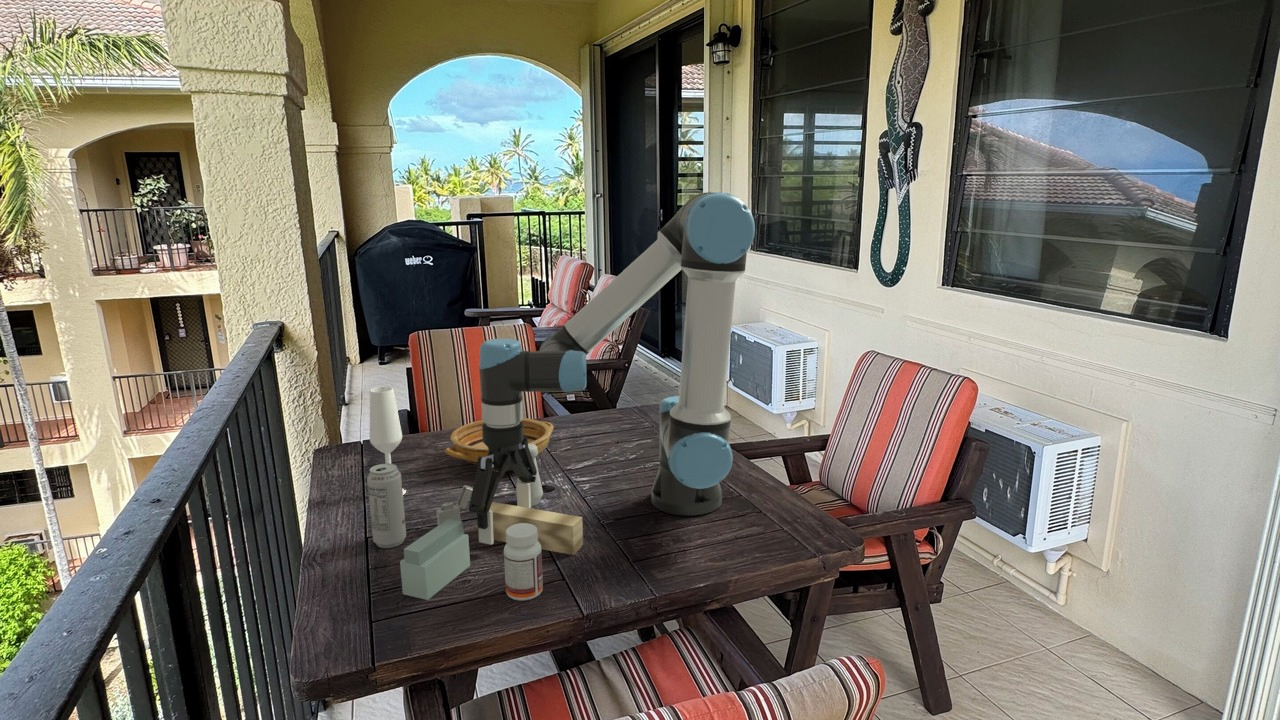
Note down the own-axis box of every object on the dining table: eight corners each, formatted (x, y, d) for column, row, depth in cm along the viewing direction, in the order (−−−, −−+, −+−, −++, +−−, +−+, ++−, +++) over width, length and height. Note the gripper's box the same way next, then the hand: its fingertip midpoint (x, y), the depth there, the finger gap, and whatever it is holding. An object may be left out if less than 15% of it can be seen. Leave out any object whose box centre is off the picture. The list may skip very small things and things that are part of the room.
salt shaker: (538, 509, 151) (535, 451, 148) (512, 507, 152) (509, 449, 149) (547, 498, 157) (544, 441, 154) (522, 496, 158) (519, 440, 155)
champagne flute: (410, 496, 158) (401, 390, 153) (378, 502, 155) (367, 395, 150) (403, 485, 164) (394, 383, 158) (372, 491, 161) (362, 387, 155)
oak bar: (583, 546, 136) (582, 517, 135) (573, 556, 133) (572, 526, 131) (491, 529, 143) (490, 501, 142) (480, 538, 140) (478, 509, 138)
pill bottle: (527, 578, 125) (524, 517, 122) (550, 591, 121) (548, 529, 118) (498, 592, 120) (494, 530, 118) (521, 606, 116) (518, 542, 114)
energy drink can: (412, 541, 138) (406, 467, 135) (383, 552, 134) (376, 477, 130) (396, 531, 142) (389, 459, 139) (367, 542, 138) (360, 468, 134)
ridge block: (470, 565, 129) (467, 522, 127) (427, 600, 118) (423, 553, 116) (446, 560, 131) (443, 517, 129) (402, 594, 120) (398, 548, 118)
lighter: (440, 532, 141) (437, 495, 140) (437, 529, 143) (434, 492, 141) (475, 523, 145) (472, 486, 143) (471, 520, 147) (469, 483, 145)
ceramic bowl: (477, 494, 159) (475, 460, 157) (423, 465, 176) (421, 434, 174) (581, 460, 179) (580, 429, 177) (523, 436, 196) (522, 408, 194)
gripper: (519, 402, 147) (522, 499, 152) (444, 440, 124) (450, 552, 129) (552, 406, 144) (554, 504, 149) (481, 446, 122) (486, 560, 127)
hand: (506, 527), depth 139 cm, fingers open, 13 cm apart
